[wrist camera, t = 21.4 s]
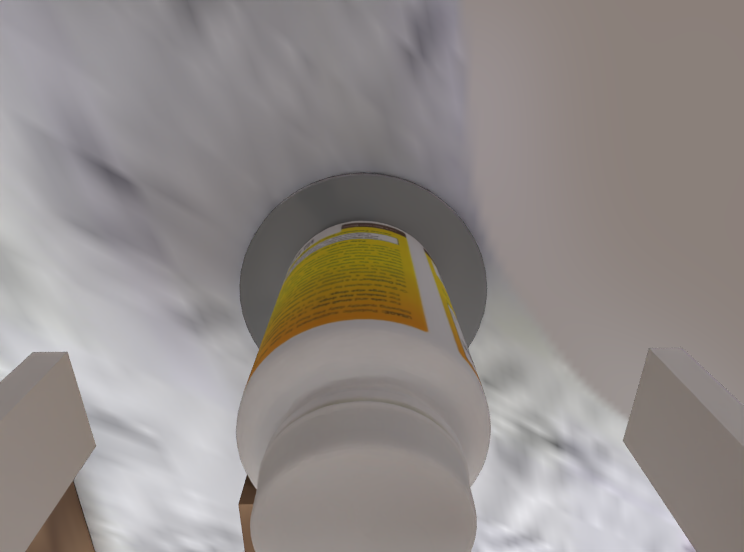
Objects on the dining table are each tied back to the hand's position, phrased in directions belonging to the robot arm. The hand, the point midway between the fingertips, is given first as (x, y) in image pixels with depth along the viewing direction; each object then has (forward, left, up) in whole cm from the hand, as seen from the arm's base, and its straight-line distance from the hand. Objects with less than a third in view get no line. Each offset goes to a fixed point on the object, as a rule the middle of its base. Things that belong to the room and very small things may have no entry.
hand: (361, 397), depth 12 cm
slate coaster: (+1, 0, -7) cm, 7 cm away
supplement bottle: (0, 0, -7) cm, 7 cm away
